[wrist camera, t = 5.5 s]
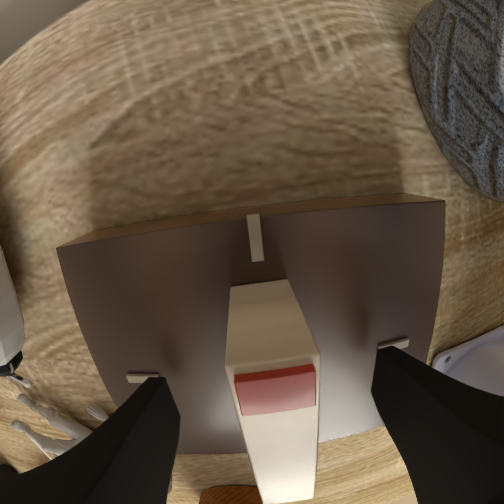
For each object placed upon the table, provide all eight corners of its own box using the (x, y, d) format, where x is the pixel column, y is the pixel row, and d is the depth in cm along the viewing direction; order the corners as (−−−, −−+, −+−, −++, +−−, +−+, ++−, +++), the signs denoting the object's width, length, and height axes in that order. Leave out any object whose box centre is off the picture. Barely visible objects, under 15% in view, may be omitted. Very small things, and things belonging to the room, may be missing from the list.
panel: (405, 190, 11) (448, 197, 8) (388, 385, 14) (410, 420, 11) (92, 228, 11) (52, 245, 8) (155, 415, 14) (143, 455, 11)
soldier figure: (28, 358, 14) (164, 446, 11) (67, 374, 18) (192, 440, 15) (4, 442, 10) (132, 545, 7) (45, 447, 14) (163, 524, 11)
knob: (298, 424, 11) (315, 503, 7) (257, 430, 11) (263, 510, 7) (288, 278, 9) (324, 360, 5) (230, 286, 9) (223, 375, 5)
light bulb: (10, 497, 17) (-20, 489, 11) (10, 467, 22) (-18, 454, 16) (40, 509, 18) (13, 505, 13) (39, 478, 23) (13, 468, 18)
